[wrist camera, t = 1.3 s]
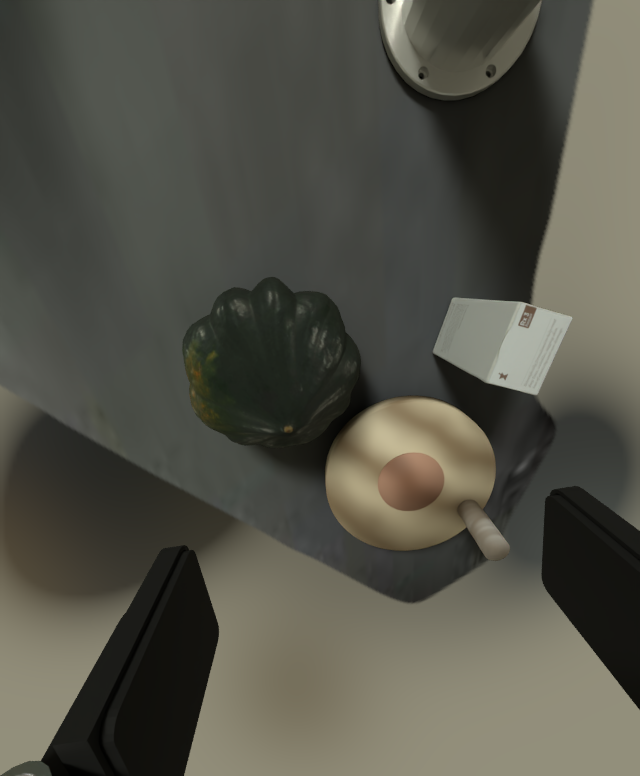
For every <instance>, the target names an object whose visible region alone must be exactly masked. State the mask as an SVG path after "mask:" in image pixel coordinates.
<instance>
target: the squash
mask: <svg viewBox="0 0 640 776" xmlns="http://www.w3.org/2000/svg"><path fill="white" fill-rule="evenodd" d="M182 351H183V356H184V363H185V369H186V373H187V376H188V380H189V382H190V388H189V392H190V399H191V405H192V407H193V410H194V412H195V414H196V415H197V416H198V417H199V418H200V419H201V420H202V422H203V423H204V424H205V425H206V426H208V427H209V428H211V429H213V430H215V431H218V432H220V433H222V434H225V435H226V436H227V437H228V438H229V439H230V440H231V441H233V442H235V443H238V444H241V445H255V444H261V445H263V446H265V447H270V448H285V447H289V446H292V445H301V444H306V443H308V442H310V441H312V440H314V439H316V438H317V437H319V436H320V435H321V434H322V433H323V432H324V431H325V430H326V429H327V428H328V426H329V424H330V422H331V421H332V420H334V419H335V418H337V417H338V416H340V415H341V414H343V413H344V411H345V410H346V409H347V407H348V406H349V404H350V401H351V391H352V390H353V388H354V386H355V384H356V382H357V380H358V378H359V374H360V365H361V359H360V353H359V350H358V348H357V346H356V344H355V343H354V341H353V340H352V338H351V337H350V336H349V335H348V334H347V333H345V326H344V323H343V321H342V319H341V316H340V312H339V310H338V308H337V306H336V305H335V303H334V302H333V301H332V300H331V299H330V298H329V297H328V296H327V295H325V294H323V293H320V292H311V291H304V292H297V293H293V292H292V291H291V290H290V289H289V288H288V287H287V286H286V285H285V284H284V283H283V282H281V281H280V280H279V279H277V278H275V277H269V278H265V279H263V280H262V281H261V282H260V283H259V284H257V286H256V287H255V288H254V289H253V290H252V291H249V290H246V289H242V288H235V287H234V288H231V289H229V290H227V291H225V292H223V293H222V294H221V295H220V296H219V297H218V298H217V299H216V301H215V303H214V305H213V308H212V311H211V314H210V315H207V316H205V317H204V318H202V319H200V320H199V321H197V322H196V323H194V324H192V325H191V327H190V328H189V329H188V330H187V333H186V335H185V337H184V339H183V349H182Z"/></svg>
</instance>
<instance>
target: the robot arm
mask: <svg viewBox="0 0 640 776" xmlns="http://www.w3.org/2000/svg"><path fill="white" fill-rule="evenodd" d="M388 3H390V4H391V5H390V4H388ZM541 3H542V0H378V8H379V25H380V30H381V36H382V41H383V43H384V46H385V49H386V52H387V55H388V57H389V59H390V61H391V63H392V64H393V66H394V68H395V70H396V71H397V72H398V74H399V75H400V76H401V77H402V78H403V80H404V81H405V82H406V83H407V84H408V85H410V86H411V87H412V88H414V89H415V90H416V91H417V92H419V93H422V94H424V95H426V96H428V97H430V98H434V99H439V100H444V101H445V100H460V99H464V98H468V97H472V96H474V95H476V94H478V93H480V92H482V91H484V90H486V89H487V88H489V87H490V86H491V85H493V84H494V83H495V82H496V81H498V80H499V79H500V78H501V77H502V76H503V75H504V74H505V73H506V72H507V71H508V70H509V69H510V68H511V66H512V65H513V64H514V63H515V61H516V60H517V59H518V57H519V56H520V55H521V54H522V52H523V50H524V48H525V46H526V45H527V43H528V41H529V39H530V38H531V35H532V33H533V30H534V27H535V25H536V22H537V20H538V16H539V12H540V7H541ZM486 74H487V75H488V77H487V76H486ZM418 76H421V77H422V78H423V80H421V79H420V78H419V77H418ZM542 581H543V584H544V586H545V588H546V590H547V592H548V593H549V594H550V595H551V597H552V598H553V600H554V601H555V602H556V603H557V605H558V606H559V607H560V609H561V610H562V611H563V612H564V614H565V615H566V616H567V617H568V619H569V620H570V621H571V623H572V624H573V625H574V626H575V628H576V629H577V630H578V632H580V634H581V635H582V637H583V638H584V639H585V641H586V642H587V643H588V644H589V645H590V647H591V648H592V649H593V651H594V652H595V653H596V655H597V656H598V657H599V658H600V660H601V661H602V662H603V663H604V665H605V666H606V667H607V669H608V670H609V671H610V672H611V674H612V675H613V676H614V678H615V679H616V680H617V681H618V683H619V684H620V685H621V686H622V688H623V689H624V690H625V692H626V693H627V694H628V695H629V697H630V698H631V699H632V701H633V702H634V703H635V704H636V706H637V707H638V708H639V709H640V531H639V530H637V529H636V528H635V527H634V526H632V525H631V524H629V523H628V522H627V521H625V520H624V519H622V518H621V517H620V516H619V515H617V514H616V513H615V512H613V511H612V510H610V509H609V508H608V507H607V506H605V505H604V504H602V503H601V502H600V501H598V500H597V499H596V498H594V497H593V496H591V495H590V494H589V493H588V492H586V491H585V490H584V489H582V488H580V487H577V486H573V487H566V488H560V489H554V490H552V491H551V493H550V496H548V497H547V498H546V501H545V517H544V537H543V557H542ZM218 637H219V626H218V622H217V619H216V616H215V613H214V610H213V607H212V603H211V601H210V597H209V594H208V591H207V588H206V585H205V582H204V578H203V576H202V573H201V569H200V566H199V563H198V560H197V557H196V554H195V552H194V551H193V550H189V549H188V547H187V546H185V545H183V546H177V547H170V548H164V549H162V550H161V551H160V553H159V554H158V556H157V558H156V560H155V561H154V563H153V565H152V567H151V569H150V570H149V572H148V574H147V576H146V578H145V579H144V581H143V583H142V585H141V587H140V589H139V590H138V592H137V594H136V596H135V597H134V600H133V601H132V603H131V605H130V607H129V608H128V610H127V612H126V613H125V614H124V615H123V617H122V618H121V620H120V621H119V623H118V625H117V626H116V628H115V630H114V632H113V634H112V635H111V637H110V639H109V641H108V643H107V644H106V646H105V648H104V650H103V651H102V653H101V655H100V657H99V659H98V660H97V662H96V664H95V666H94V667H93V669H92V671H91V673H90V674H89V676H88V678H87V680H86V682H85V683H84V685H83V687H82V689H81V690H80V692H79V694H78V696H77V698H76V699H75V701H74V703H73V705H72V706H71V708H70V710H69V712H68V714H67V715H66V717H65V719H64V721H63V723H62V724H61V726H60V728H59V730H58V731H57V733H56V735H55V737H54V739H53V740H52V742H51V744H50V746H49V747H48V749H47V751H46V753H45V755H44V756H43V758H42V760H41V761H28V762H25V763H23V764H20V765H18V766H15V767H13V768H11V769H10V770H8V771H7V772H5V773H4V774H2V775H1V776H184V773H185V769H186V765H187V761H188V757H189V753H190V749H191V745H192V742H193V738H194V734H195V729H196V726H197V722H198V718H199V714H200V710H201V706H202V702H203V698H204V694H205V690H206V686H207V682H208V678H209V674H210V670H211V666H212V662H213V659H214V654H215V651H216V646H217V643H218Z"/></svg>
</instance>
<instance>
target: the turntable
mask: <svg viewBox="0 0 640 776" xmlns="http://www.w3.org/2000/svg"><path fill="white" fill-rule="evenodd" d="M495 472H496V466H495V457H494V453H493V449H492V447H491V444H490V442H489V440H488V438H487V437H486V435H485V433H484V432H483V431H482V430H481V428H480V427H479V426H478V425H477V424H476V423H475V422H474V421H473V420H471V419H470V418H469V417H468V416H467V415H466V414H464V413H463V412H462V411H461V410H460V409H458V408H456V407H455V406H453V405H451V404H449V403H447V402H445V401H442V400H439V399H436V398H432V397H426V396H400V397H395V398H390V399H386V400H383V401H381V402H378V403H375V404H373V405H371V406H369V407H367V408H366V409H364V410H363V411H361V412H360V413H358V414H357V415H355V416H354V417H353V418H352V419H351V420H350V421H348V422H347V424H346V425H345V426H344V427H343V428H342V429H341V430H340V432H339V433H338V435H337V436H336V438H335V439H334V441H333V443H332V445H331V447H330V450H329V453H328V456H327V460H326V466H325V482H326V492H327V498H328V502H329V505H330V507H331V510H332V512H333V514H334V515H335V517H336V519H337V520H338V522H339V523H340V524H341V525H342V526H343V527H344V528H345V529H346V530H347V531H348V532H349V533H350V534H352V535H353V536H355V537H356V538H358V539H359V540H361V541H363V542H365V543H367V544H370V545H372V546H375V547H379V548H383V549H388V550H401V551H407V550H417V549H422V548H427V547H430V546H433V545H436V544H439V543H441V542H444V541H446V540H448V539H450V538H452V537H453V536H455V535H457V534H458V533H460V532H461V531H462V530H464V529H465V528H466V527H467V528H468V530H469V532H470V533H471V535H472V536H473V538H474V539H475V541H476V543H477V544H478V546H479V547H480V549H481V551H482V552H483V554H484V555H485V557H486V558H487V559H489V560H492V561H498V560H501V559H503V558H505V557H506V556H507V555H508V553H509V551H510V546H509V544H508V543H507V542H506V540H505V539H504V537H503V536H502V535H501V533H500V532H499V531H498V529H497V528H496V527H495V525H494V524H493V523H492V521H491V520H490V519H489V517H488V516H487V515H486V513H485V512H484V511H483V508H484V507H485V505H486V503H487V501H488V499H489V497H490V495H491V492H492V489H493V486H494V481H495Z"/></svg>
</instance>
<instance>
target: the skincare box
mask: <svg viewBox="0 0 640 776" xmlns="http://www.w3.org/2000/svg"><path fill="white" fill-rule="evenodd" d="M572 319H573V318H572V317H571V316H568V315H565V314H562V313H558V312H554V311H551V310H547V309H544V308H540V307H537V306H534V305H530V304H527V303H524V302H513V301H497V300H481V299H467V298H453V299H452V301H451V304H450V306H449V309H448V312H447V315H446V317H445V320H444V323H443V325H442V328H441V331H440V333H439V336H438V339H437V341H436V344H435V347H434V350H433V354H435V355H437V356H439V357H441V358H442V359H444V360H446V361H448V362H449V363H451V364H453V365H455V366H456V367H458V368H460V369H462V370H464V371H465V372H467V373H469V374H471V375H473V376H475V377H477V378H479V379H480V380H482V381H483V382H485V383H488V384H493V385H497V386H501V387H505V388H510V389H514V390H518V391H521V392H525V393H528V394H532V395H537V394H538V392H539V390H540V388H541V385H542V383H543V381H544V379H545V377H546V375H547V372H548V370H549V368H550V366H551V364H552V362H553V360H554V357H555V355H556V353H557V351H558V349H559V347H560V345H561V342H562V340H563V338H564V336H565V334H566V332H567V329H568V327H569V325H570V323H571V321H572Z"/></svg>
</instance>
